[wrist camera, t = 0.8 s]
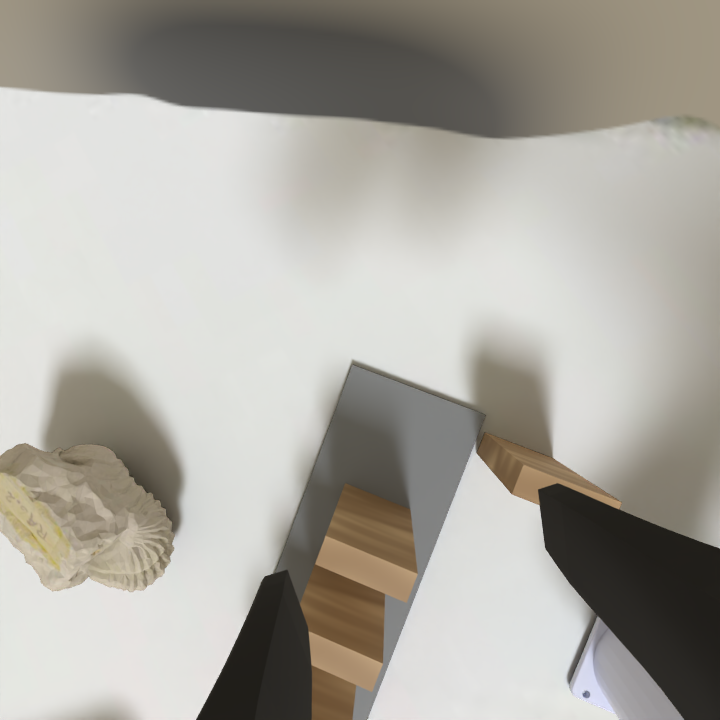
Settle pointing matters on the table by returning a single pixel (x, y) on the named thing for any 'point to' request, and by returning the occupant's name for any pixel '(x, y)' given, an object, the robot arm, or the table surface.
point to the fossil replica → (82, 518)
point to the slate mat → (384, 480)
